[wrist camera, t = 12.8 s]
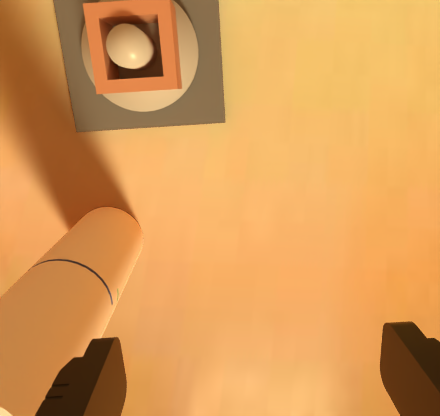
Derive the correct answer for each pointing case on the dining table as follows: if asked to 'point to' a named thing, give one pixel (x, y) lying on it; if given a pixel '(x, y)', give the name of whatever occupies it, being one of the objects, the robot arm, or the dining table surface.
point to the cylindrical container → (63, 305)
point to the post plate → (125, 119)
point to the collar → (131, 14)
